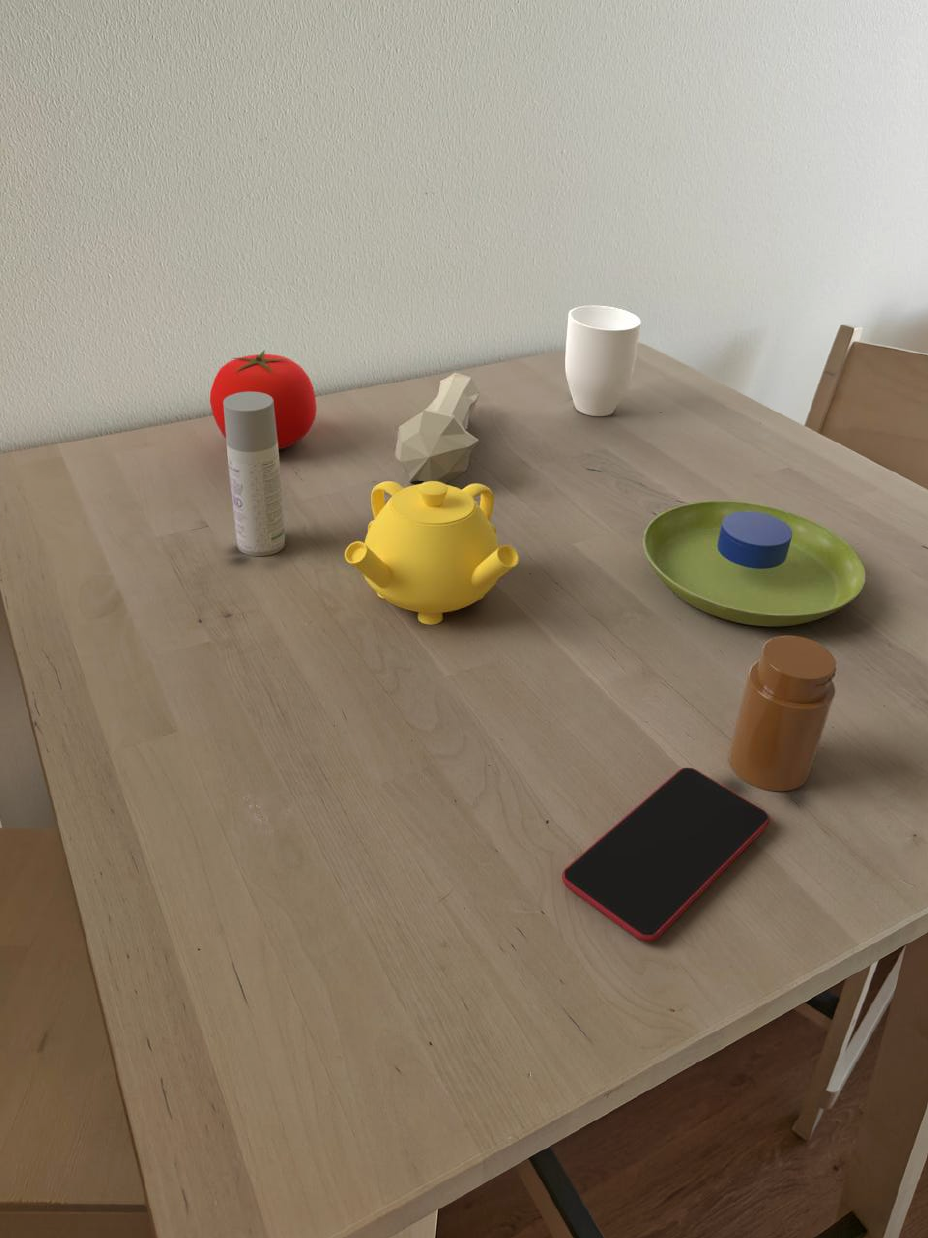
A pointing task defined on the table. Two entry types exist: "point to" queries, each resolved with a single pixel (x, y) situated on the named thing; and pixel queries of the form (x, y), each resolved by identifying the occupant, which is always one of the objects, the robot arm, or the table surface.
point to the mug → (600, 357)
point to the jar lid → (754, 539)
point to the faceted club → (440, 433)
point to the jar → (783, 713)
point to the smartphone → (665, 853)
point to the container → (254, 472)
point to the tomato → (269, 392)
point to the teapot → (431, 547)
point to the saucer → (776, 596)
